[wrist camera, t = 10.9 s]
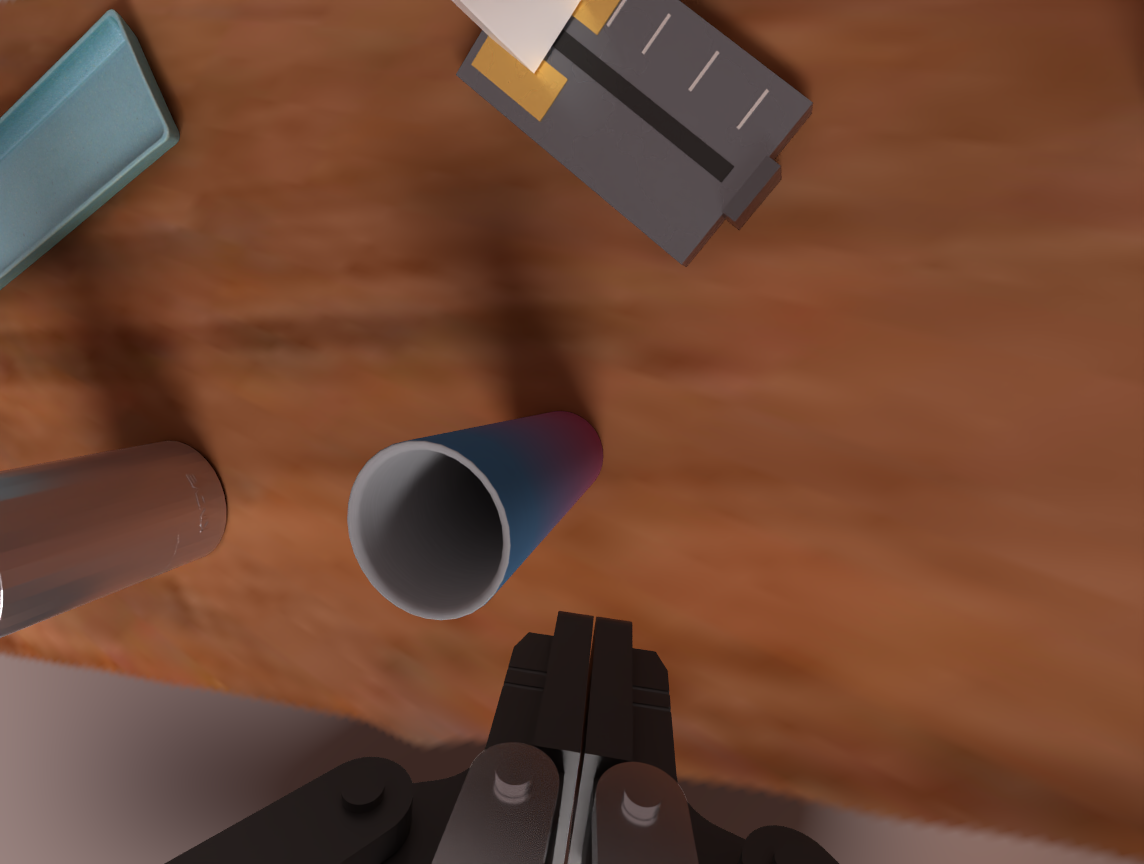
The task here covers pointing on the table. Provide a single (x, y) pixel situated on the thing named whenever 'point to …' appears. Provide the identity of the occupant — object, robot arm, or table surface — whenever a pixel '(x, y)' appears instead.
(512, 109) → the console
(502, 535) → the cup
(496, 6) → the fader knob
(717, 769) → the table surface
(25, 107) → the rectangular tray
